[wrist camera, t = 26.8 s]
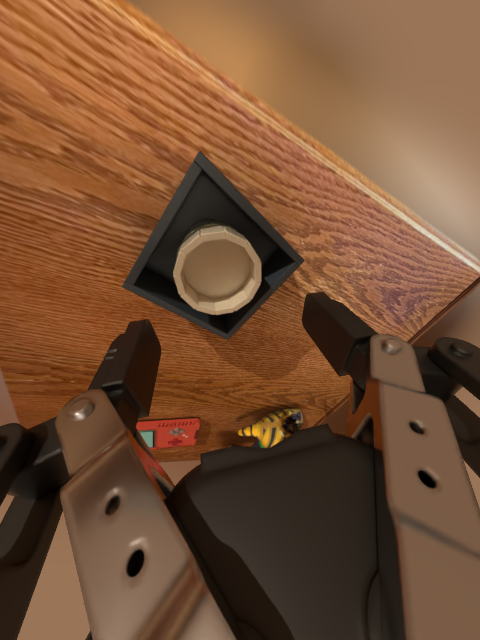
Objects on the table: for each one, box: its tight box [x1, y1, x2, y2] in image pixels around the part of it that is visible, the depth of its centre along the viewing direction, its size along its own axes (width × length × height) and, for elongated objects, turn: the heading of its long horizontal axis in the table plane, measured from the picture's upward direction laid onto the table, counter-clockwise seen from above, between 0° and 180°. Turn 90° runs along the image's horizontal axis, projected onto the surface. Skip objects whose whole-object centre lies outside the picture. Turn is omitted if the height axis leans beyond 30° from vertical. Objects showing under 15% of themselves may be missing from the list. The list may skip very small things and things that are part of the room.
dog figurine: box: [229, 408, 303, 448], centre depth 40 cm, size 20×12×18 cm
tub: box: [122, 151, 304, 340], centre depth 17 cm, size 10×10×5 cm
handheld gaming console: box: [136, 418, 200, 450], centre depth 35 cm, size 9×1×15 cm
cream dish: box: [173, 225, 261, 315], centre depth 15 cm, size 6×6×2 cm
